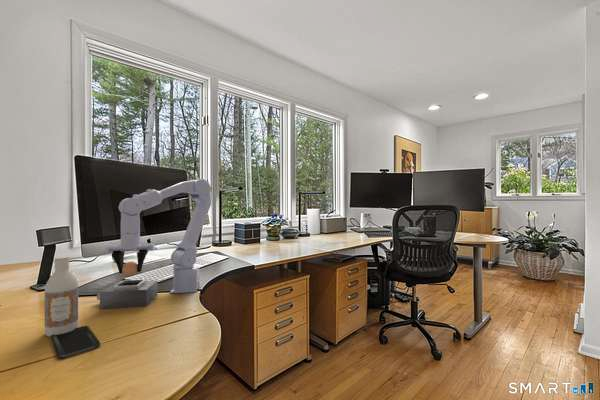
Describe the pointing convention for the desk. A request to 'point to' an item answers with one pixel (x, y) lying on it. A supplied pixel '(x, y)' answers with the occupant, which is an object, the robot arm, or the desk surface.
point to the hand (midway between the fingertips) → (130, 272)
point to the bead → (130, 269)
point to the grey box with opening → (128, 294)
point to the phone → (74, 342)
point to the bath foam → (61, 299)
